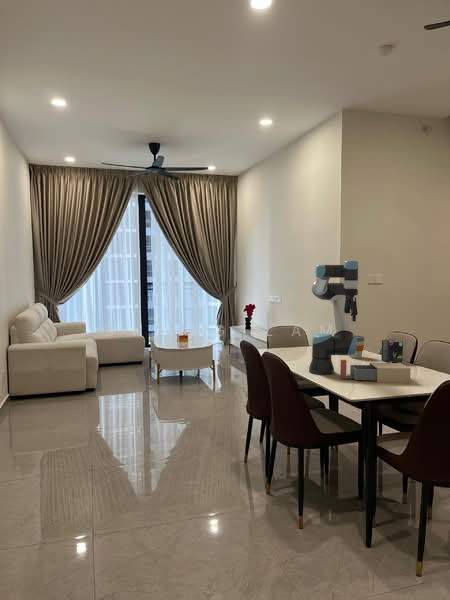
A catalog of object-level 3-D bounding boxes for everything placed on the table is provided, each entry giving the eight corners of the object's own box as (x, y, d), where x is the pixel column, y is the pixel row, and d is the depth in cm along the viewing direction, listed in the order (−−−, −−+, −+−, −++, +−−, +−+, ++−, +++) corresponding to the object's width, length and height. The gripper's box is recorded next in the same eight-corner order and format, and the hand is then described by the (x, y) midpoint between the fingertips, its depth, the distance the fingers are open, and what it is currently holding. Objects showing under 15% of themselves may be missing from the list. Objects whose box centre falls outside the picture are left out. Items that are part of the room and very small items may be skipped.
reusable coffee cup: (362, 355, 326) (362, 335, 325) (365, 358, 314) (366, 337, 313) (344, 355, 328) (345, 335, 327) (347, 358, 315) (348, 337, 314)
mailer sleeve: (377, 382, 245) (377, 368, 244) (369, 376, 260) (369, 362, 259) (410, 382, 244) (410, 368, 244) (400, 376, 259) (400, 362, 259)
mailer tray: (343, 380, 246) (343, 362, 246) (338, 375, 259) (338, 357, 258) (386, 380, 246) (387, 362, 245) (379, 375, 258) (379, 358, 258)
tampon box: (389, 363, 298) (389, 341, 297) (380, 360, 307) (381, 339, 306) (403, 362, 301) (403, 341, 300) (394, 359, 310) (394, 339, 309)
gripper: (364, 288, 235) (363, 328, 236) (351, 287, 260) (351, 323, 261) (349, 288, 235) (349, 328, 236) (339, 287, 260) (338, 323, 261)
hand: (350, 326), depth 249 cm, fingers open, 13 cm apart
